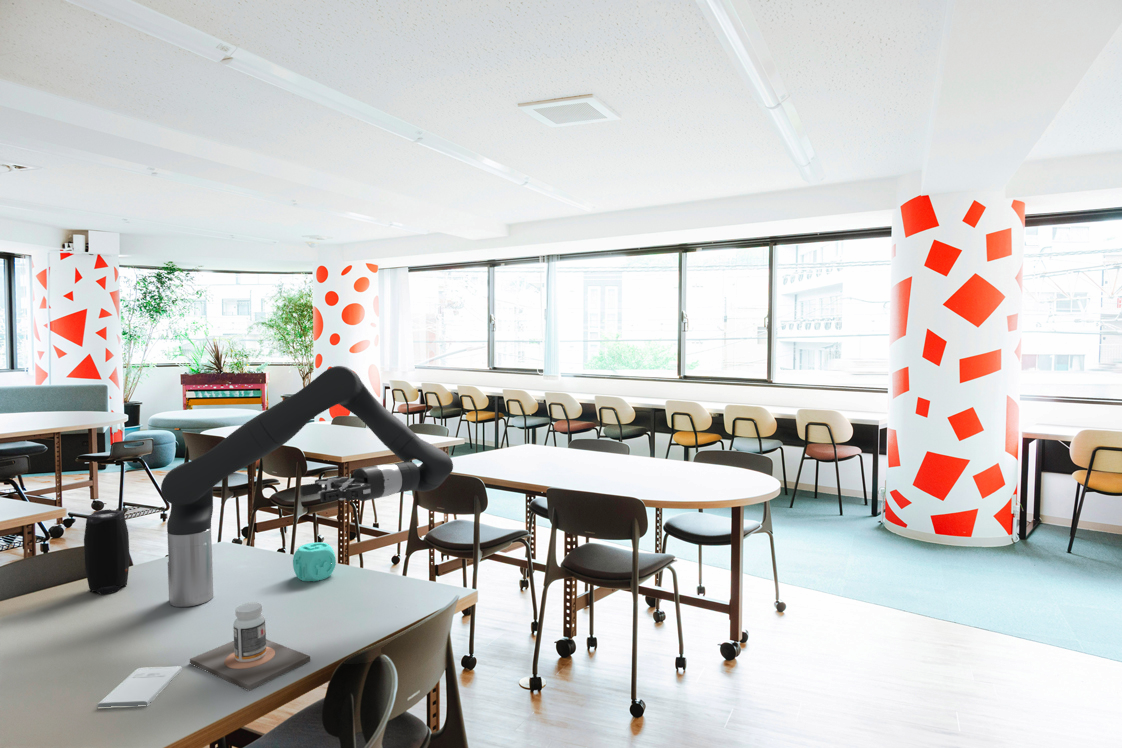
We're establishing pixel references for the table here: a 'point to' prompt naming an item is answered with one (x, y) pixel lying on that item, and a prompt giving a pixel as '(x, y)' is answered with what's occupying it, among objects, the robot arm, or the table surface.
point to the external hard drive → (140, 686)
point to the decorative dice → (314, 561)
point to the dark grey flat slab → (250, 664)
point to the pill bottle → (249, 633)
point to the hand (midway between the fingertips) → (311, 494)
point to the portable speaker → (106, 551)
